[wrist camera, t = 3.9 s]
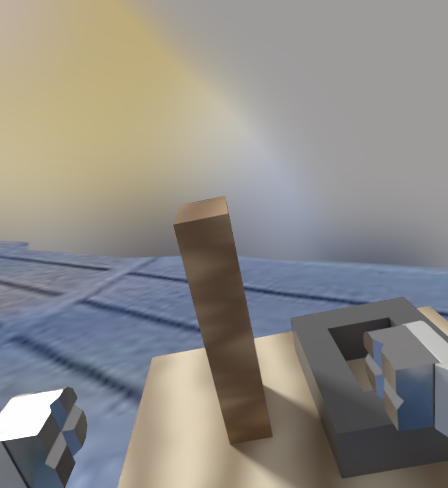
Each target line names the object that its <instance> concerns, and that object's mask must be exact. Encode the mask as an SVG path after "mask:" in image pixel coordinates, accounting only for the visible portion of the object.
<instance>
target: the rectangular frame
mask: <svg viewBox="0 0 448 488" xmlns="http://www.w3.org/2000/svg"><path fill="white" fill-rule="evenodd" d="M290 319H291V325H292V332H293V338H294V345H295V351H296V354H297V356H298V359H299V362H300V365H301V367H302V370H303V373H304V376H305V378H306V381H307V384H308V387H309V389H310V392H311V395H312V397H313V400H314V403H315V406H316V408H317V411H318V414H319V417H320V419H321V422H322V425H323V428H324V430H325V433H326V436H327V439H328V441H329V444H330V447H331V449H332V452H333V455H334V458H335V460H336V463H337V466H338V469H339V471H340V474H341V477H342V479H343V478H349V477H355V476H361V475H367V474H373V473H379V472H385V471H391V470H397V469H403V468H409V467H414V466H420V465H426V464H432V463H438V462H444V461H448V437H447V436H446V435H444V434H443V433H441V432H440V431H438V430H437V429H435V426H434V427H427V428H420V429H412V430H405V431H398V430H397V428H396V427H395V425H394V424H393V422H392V420H391V419H390V417H389V415H388V414H387V412H386V410H385V404H384V399H382V398H380V397H378V396H377V395H376V394H375V392H374V390H373V391H367V392H363V391H362V389H361V387H360V386H359V384H358V382H357V380H356V378H355V377H354V375H353V373H352V371H351V370H350V368H349V366H348V364H347V363H346V361H349V360H355V359H360V358H366V356H367V355H368V351H367V350H366V348H365V347H364V344H363V335H364V332H369V331H374V330H379V329H385V328H390V327H395V326H400V325H402V324H407V323H411V322H416V321H423V322H425V323H426V324H428V325H429V326H430V327H431V328H432V329H433V330H434V331H435V332H436V333H437V334H438V335H439V336H441V337H442V338H443V339H444V340H445V341H446V342H447V343H448V336H447V335H446V334H445V333H444V332H443V331H441V330H440V329H439V328H438V327H437V326H436V325H435V324H434V323H432V322H431V321H430V320H429V319H428V318H427V317H426V316H425V315H423V314H422V313H421V312H420V311H419V310H418V309H417V308H416V307H414V306H413V305H412V304H411V303H410V302H409V301H408V300H407V299H406V298H404V297H400V298H395V299H389V300H384V301H379V302H373V303H368V304H363V305H357V306H352V307H347V308H341V309H336V310H331V311H325V312H320V313H315V314H309V315H304V316H299V317H293V318H290Z"/></svg>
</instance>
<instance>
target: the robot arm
mask: <svg viewBox="0 0 448 488" xmlns="http://www.w3.org/2000/svg"><path fill="white" fill-rule="evenodd" d="M363 344H364V347H365V348H366V350H367V351H368V355H367V356H366V358H365V366H366V372H367V375H368V379H369V382H370V384H371V386H372V388H373V390H374V392H375V394H376V395H377V396H378V397H380V398H382V399H384V404H385V410H386V412H387V414H388V415H389V417H390V419H391V420H392V422H393V424H394V425H395V427H396V428H397V430H398V431H405V430H412V429H420V428H427V427H434V426H435V429H437V430H438V431H440V432H441V433H443V434H444V435H446V436H447V437H448V343H447V342H446V341H445V340H444V339H443V338H442V337H441V336H439V335H438V334H437V333H436V332H435V331H434V330H433V329H432V328H431V327H430V326H429V325H428V324H426V323H425V322H423V321H416V322H411V323H407V324H402V325H400V326H395V327H390V328H385V329H379V330H374V331H369V332H364V335H363ZM76 400H77V396H76V394H75V392H74V390H73V388H70V387H64V388H58V389H51V390H45V391H39V392H34V393H28V394H22V395H17V396H15V397H13V398H12V399H11V400H10V401H9V403H8V404H7V405H6V406H5V408H4V409H3V410H2V412H1V413H0V488H65V486H66V484H67V482H68V479H69V477H70V475H71V472H72V470H73V467H74V465H75V461H74V458H73V456H74V455H75V454H76V453H77V452H78V451H79V450H80V449H81V448H82V446H83V443H84V441H85V438H86V432H87V422H86V417H85V414H84V412H83V410H82V409H80V408H79V407H77V406H76V405H75V403H76Z"/></svg>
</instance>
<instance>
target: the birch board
mask: <svg viewBox="0 0 448 488" xmlns="http://www.w3.org/2000/svg"><path fill="white" fill-rule="evenodd" d="M417 309H418V310H419V311H420V312H421V313H422V314H423V315H425V316H426V317H427V318H428V319H429V320H430V321H431V322H432V323H434V324H435V325H436V326H437V327H438V328H439V329H440V330H441V331H443V332H444V333H445V334H446V335H447V336H448V321H447V320H445V319H444V318H443V317H442V316H441V315H439V314H438V313H437V312H436V311H434V310H433V309H432V308H431V307H430V306H426V307H421V308H417ZM254 342H255V347H256V352H257V357H258V362H259V367H260V372H261V377H262V382H263V387H264V393H265V398H266V403H267V408H268V414H269V419H270V424H271V429H272V435H273V437H270V438H264V439H258V440H253V441H247V442H241V443H236V444H230V443H229V439H228V435H227V431H226V427H225V423H224V420H223V416H222V412H221V408H220V404H219V400H218V396H217V392H216V389H215V385H214V381H213V377H212V373H211V369H210V365H209V361H208V357H207V354H206V350H205V348H201V349H195V350H190V351H185V352H179V353H174V354H168V355H163V356H158V357H153V358H152V361H151V365H150V369H149V373H148V376H147V380H146V384H145V387H144V391H143V395H142V399H141V402H140V406H139V410H138V413H137V417H136V421H135V425H134V428H133V432H132V436H131V439H130V443H129V447H128V451H127V454H126V458H125V462H124V466H123V469H122V473H121V477H120V480H119V484H118V488H448V461H444V462H438V463H432V464H426V465H420V466H414V467H409V468H403V469H397V470H391V471H385V472H379V473H373V474H367V475H361V476H355V477H349V478H343V479H342V477H341V474H340V471H339V469H338V466H337V463H336V460H335V458H334V455H333V452H332V449H331V447H330V444H329V441H328V439H327V436H326V433H325V430H324V428H323V425H322V422H321V419H320V417H319V414H318V411H317V408H316V406H315V403H314V400H313V397H312V395H311V392H310V389H309V387H308V384H307V381H306V378H305V376H304V373H303V370H302V367H301V365H300V362H299V359H298V356H297V354H296V351H295V345H294V338H293V332H286V333H281V334H276V335H270V336H265V337H260V338H254ZM346 363H347V364H348V366H349V368H350V370H351V371H352V373H353V375H354V377H355V378H356V380H357V382H358V384H359V386H360V387H361V389H362V391H363V392H367V391H373V388H372V386H371V384H370V382H369V379H368V375H367V372H366V366H365V358H360V359H355V360H349V361H346Z"/></svg>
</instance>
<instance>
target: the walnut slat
mask: <svg viewBox="0 0 448 488" xmlns="http://www.w3.org/2000/svg"><path fill="white" fill-rule="evenodd" d="M173 225H174V230H175V233H176V237H177V241H178V245H179V249H180V253H181V257H182V261H183V264H184V268H185V272H186V276H187V280H188V284H189V288H190V292H191V295H192V299H193V303H194V307H195V311H196V315H197V319H198V323H199V326H200V330H201V334H202V338H203V342H204V346H205V350H206V354H207V357H208V361H209V365H210V369H211V373H212V377H213V381H214V385H215V389H216V392H217V396H218V400H219V404H220V408H221V412H222V416H223V420H224V423H225V427H226V431H227V435H228V439H229V443H230V444H236V443H241V442H247V441H253V440H258V439H264V438H270V437H273V435H272V429H271V424H270V419H269V414H268V408H267V403H266V398H265V393H264V387H263V382H262V377H261V372H260V367H259V362H258V357H257V352H256V347H255V342H254V337H253V332H252V327H251V322H250V317H249V312H248V307H247V302H246V297H245V292H244V287H243V282H242V277H241V272H240V267H239V262H238V257H237V252H236V247H235V242H234V237H233V232H232V228H231V223H230V218H229V213H228V207H227V202H226V197H225V196H222V197H217V198H212V199H207V200H203V201H197V202H192V203H188V204H182V205H181V208H180V210H179V212H178V214H177V217H176V219H175V222H174V224H173Z"/></svg>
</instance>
